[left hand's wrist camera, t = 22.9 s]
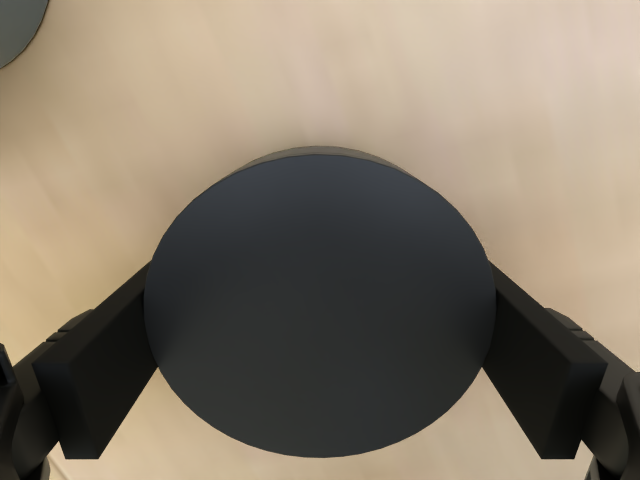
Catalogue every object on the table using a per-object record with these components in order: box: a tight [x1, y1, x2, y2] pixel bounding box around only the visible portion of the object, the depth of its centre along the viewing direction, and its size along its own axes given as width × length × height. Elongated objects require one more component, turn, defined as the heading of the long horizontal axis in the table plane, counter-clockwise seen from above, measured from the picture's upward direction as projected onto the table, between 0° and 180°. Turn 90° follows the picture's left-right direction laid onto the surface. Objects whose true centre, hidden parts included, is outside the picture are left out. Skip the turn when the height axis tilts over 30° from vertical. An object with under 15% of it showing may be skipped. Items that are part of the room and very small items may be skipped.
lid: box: [144, 146, 497, 458], centre depth 11 cm, size 10×10×2 cm
